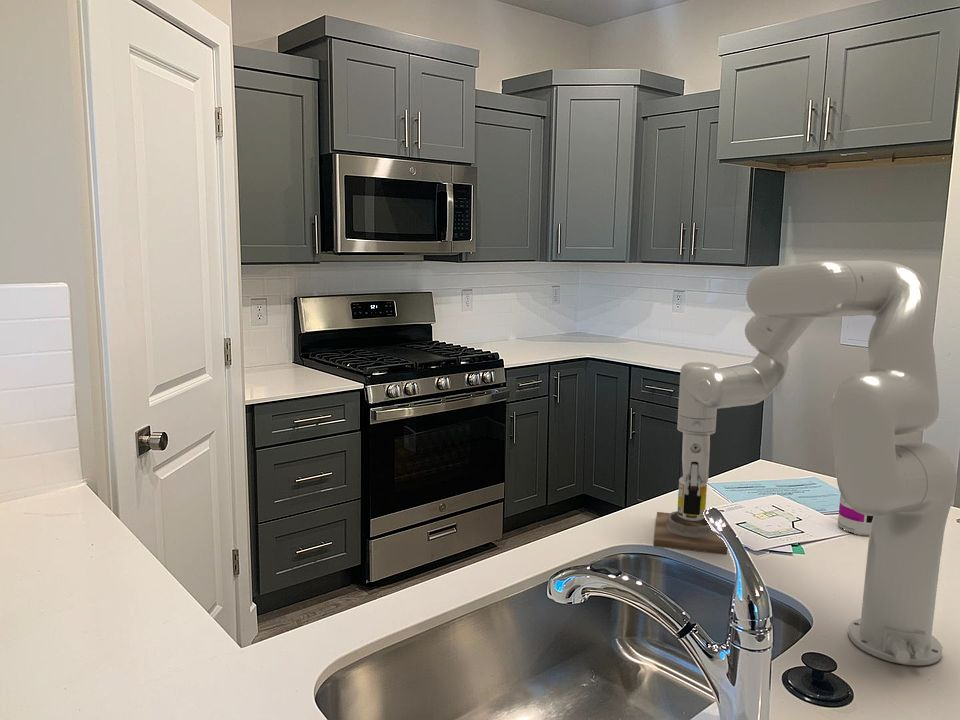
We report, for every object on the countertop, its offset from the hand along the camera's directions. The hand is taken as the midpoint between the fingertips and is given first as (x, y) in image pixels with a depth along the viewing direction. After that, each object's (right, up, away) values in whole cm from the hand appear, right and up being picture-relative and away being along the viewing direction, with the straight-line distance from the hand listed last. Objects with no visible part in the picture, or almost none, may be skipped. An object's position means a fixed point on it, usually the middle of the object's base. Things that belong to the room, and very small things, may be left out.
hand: (691, 507), depth 157 cm
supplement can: (+37, -6, +5) cm, 38 cm away
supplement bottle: (0, -2, 0) cm, 2 cm away
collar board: (0, -6, +1) cm, 6 cm away
